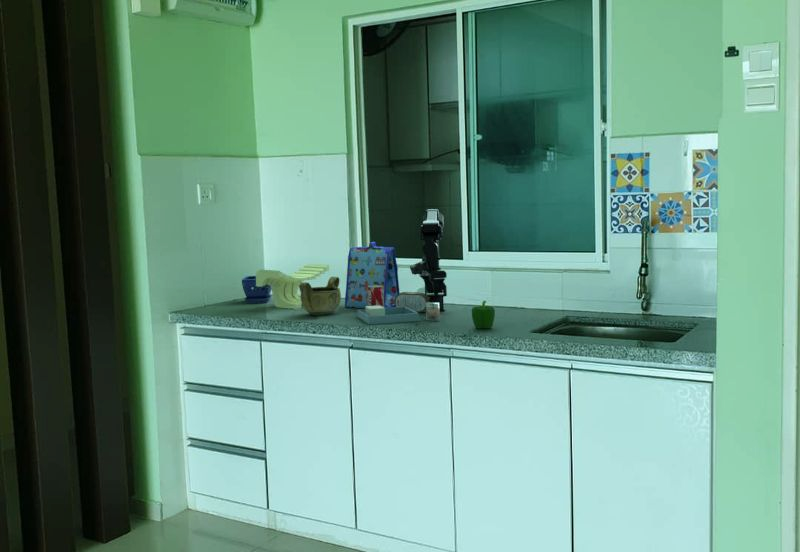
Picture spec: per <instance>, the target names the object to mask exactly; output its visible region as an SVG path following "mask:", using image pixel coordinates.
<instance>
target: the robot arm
mask: <svg viewBox="0 0 800 552" xmlns="http://www.w3.org/2000/svg"><path fill="white" fill-rule="evenodd" d="M444 221H445V220H444V215H443V214H442V213H441V212H439V209H436V208H435V209H433V208H431V209H429V208H428V209H426V210H425V213H424V214H423V215H422V225H420V241H424V242H423V245H422V248H421V249H422V253H423V256H422V258H421V261H419V262H416V263H414V264H411V265H409V269H410V271H411V274H412V275H414V276H415V275H419V276H418V277H420V278H421V279H422V280H423V282H424V294H425V295H427V297H428V298H429V301H430V302H438V303H439V308H440V312H445V311H446V309H444V305H445V304H444V298H445V297H448V295H447V294H448V291H447V285H446V282H445V281H446V278H447V272H446V271H445V270H443V269H441V267H440V261H441V256H440V246H439V245H440V244H439V243H440V241H441V240H442V238H443V228H444V225H445V223H444Z"/></svg>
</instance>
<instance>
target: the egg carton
mask: <svg viewBox="0 0 800 552" xmlns="http://www.w3.org/2000/svg"><path fill="white" fill-rule="evenodd" d="M364 309H365V314H367V315H368V316H382V315H385V308H384V307H382V306H380V305H379V306H365V308H364Z"/></svg>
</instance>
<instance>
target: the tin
mask: <svg viewBox="0 0 800 552" xmlns="http://www.w3.org/2000/svg"><path fill="white" fill-rule="evenodd" d="M428 302H430V301H429V298H428V297H427V295H425V292H420V291H418V292H417V291H415V292H414V291H402V292H401V291H400V294H398V295H397V296H396V298H395V307H407V308H409V309H411V310H413V311H415V312H421V313H424V312H426V303H428Z"/></svg>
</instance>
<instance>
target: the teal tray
mask: <svg viewBox="0 0 800 552" xmlns="http://www.w3.org/2000/svg"><path fill="white" fill-rule="evenodd" d="M356 311H357V312H356V313H357V315H356V316H357V318H358V319H359V320H361V321H363V322H364V323H365V324H367V325H381V324H393V323H395V324H396V323H397V324H398V323H408V322H410V323H411V322H419V321H420V313H417V312H415V311H413V310H411V309H409V308H407V307H396V306H395V307H390V308H385V315H382V316H368V315H367V314H365V308H359V309H357V310H356Z"/></svg>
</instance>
